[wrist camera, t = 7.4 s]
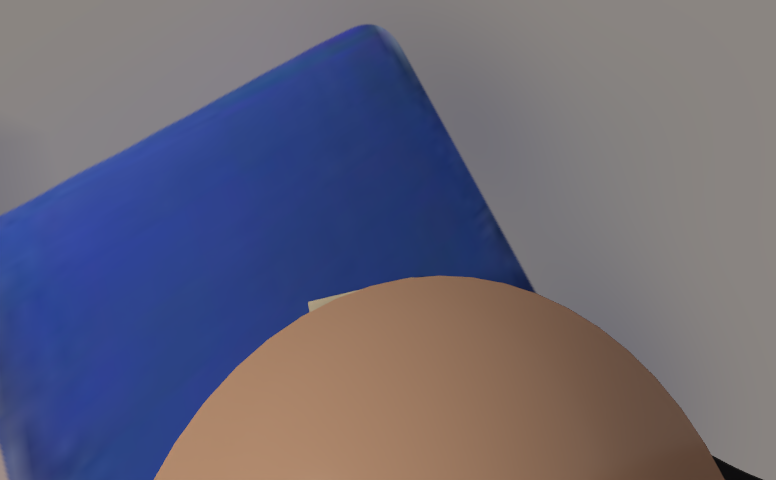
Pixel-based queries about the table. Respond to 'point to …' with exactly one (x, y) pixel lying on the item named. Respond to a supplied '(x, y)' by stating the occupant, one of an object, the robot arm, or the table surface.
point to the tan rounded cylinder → (440, 396)
